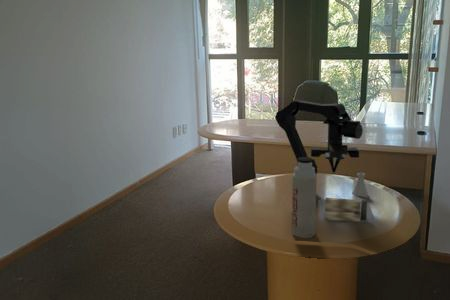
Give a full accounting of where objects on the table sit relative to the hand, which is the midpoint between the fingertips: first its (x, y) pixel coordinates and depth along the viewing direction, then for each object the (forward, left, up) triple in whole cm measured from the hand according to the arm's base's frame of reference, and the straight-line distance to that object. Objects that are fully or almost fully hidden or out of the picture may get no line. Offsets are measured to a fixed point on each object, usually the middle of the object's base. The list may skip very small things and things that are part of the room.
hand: (333, 172), depth 166 cm
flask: (+12, +8, -13) cm, 20 cm away
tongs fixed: (+4, -19, -12) cm, 23 cm away
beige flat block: (+2, -16, -12) cm, 20 cm away
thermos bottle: (-12, -32, -13) cm, 37 cm away
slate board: (+4, -11, -13) cm, 17 cm away
